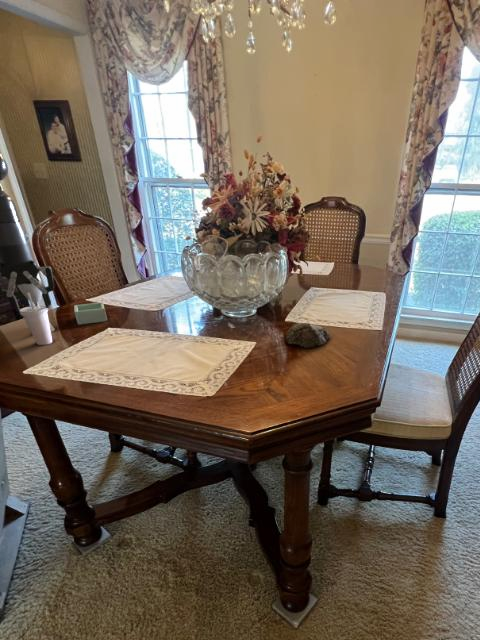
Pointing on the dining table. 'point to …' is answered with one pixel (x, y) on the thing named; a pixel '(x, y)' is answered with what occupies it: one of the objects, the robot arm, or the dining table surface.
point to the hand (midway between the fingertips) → (33, 308)
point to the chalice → (33, 294)
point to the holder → (90, 313)
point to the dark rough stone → (307, 335)
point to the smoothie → (37, 322)
